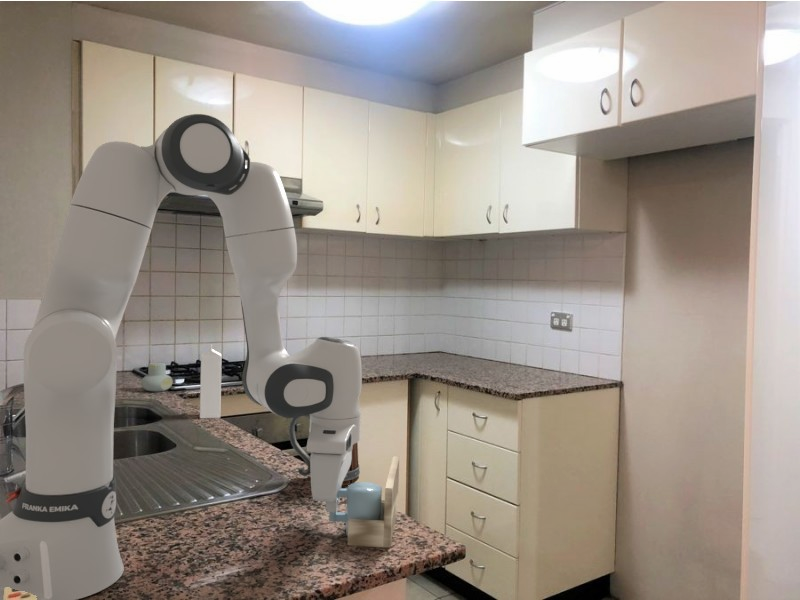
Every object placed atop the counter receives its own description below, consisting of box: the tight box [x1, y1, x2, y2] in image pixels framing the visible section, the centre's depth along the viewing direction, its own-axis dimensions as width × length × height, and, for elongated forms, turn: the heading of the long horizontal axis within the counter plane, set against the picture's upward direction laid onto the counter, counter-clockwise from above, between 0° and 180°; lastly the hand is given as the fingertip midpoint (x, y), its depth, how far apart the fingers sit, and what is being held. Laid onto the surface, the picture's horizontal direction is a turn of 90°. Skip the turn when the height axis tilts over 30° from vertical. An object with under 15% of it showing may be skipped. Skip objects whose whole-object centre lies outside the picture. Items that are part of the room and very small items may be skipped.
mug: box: [288, 414, 360, 487], centre depth 134 cm, size 16×11×15 cm
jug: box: [328, 481, 383, 537], centre depth 107 cm, size 9×6×8 cm, turn 86°
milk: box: [199, 343, 223, 419], centre depth 188 cm, size 6×6×22 cm
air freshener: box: [140, 361, 174, 393], centre depth 224 cm, size 11×8×10 cm
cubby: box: [347, 455, 400, 549], centre depth 111 cm, size 7×18×10 cm, turn 176°
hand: (332, 507), depth 107 cm, fingers closed on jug
